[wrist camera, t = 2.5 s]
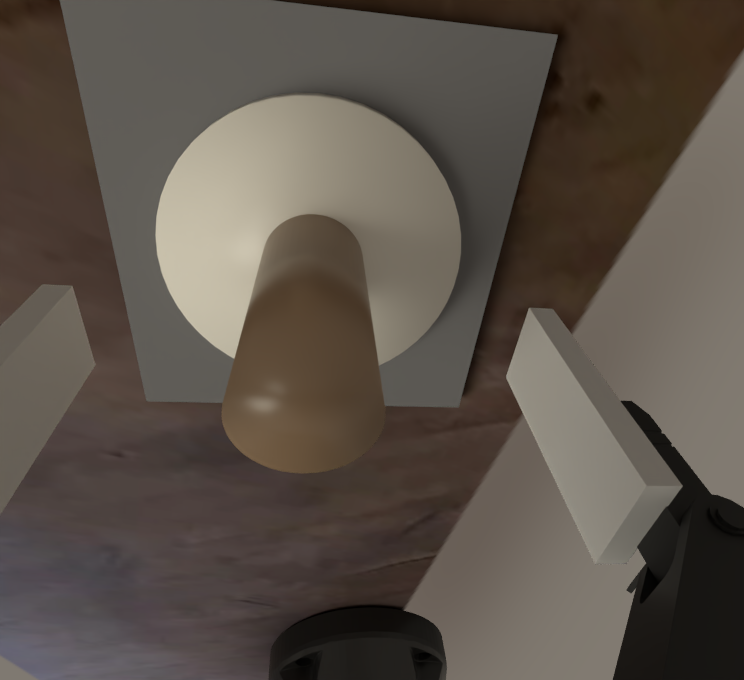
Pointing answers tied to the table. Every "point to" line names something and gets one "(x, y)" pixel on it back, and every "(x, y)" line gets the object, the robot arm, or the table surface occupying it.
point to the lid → (307, 267)
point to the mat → (300, 75)
